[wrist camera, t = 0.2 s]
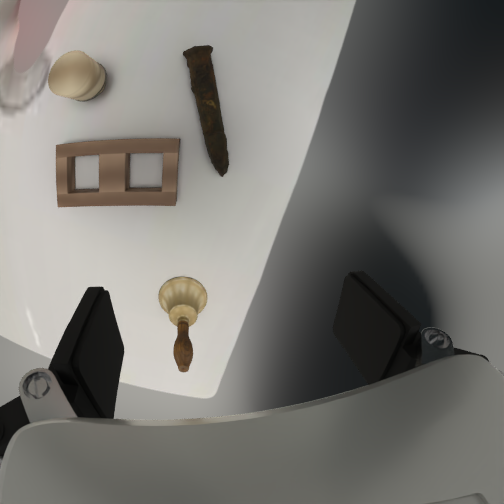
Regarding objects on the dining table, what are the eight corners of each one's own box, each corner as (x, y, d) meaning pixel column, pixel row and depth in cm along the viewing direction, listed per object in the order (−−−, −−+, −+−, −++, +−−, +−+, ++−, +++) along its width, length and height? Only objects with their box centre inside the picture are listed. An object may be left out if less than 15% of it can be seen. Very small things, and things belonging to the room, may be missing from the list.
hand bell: (210, 314, 47) (221, 383, 33) (164, 319, 45) (160, 390, 31) (203, 273, 43) (212, 339, 29) (154, 279, 42) (142, 347, 28)
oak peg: (81, 70, 26) (52, 55, 17) (116, 65, 27) (94, 46, 18) (76, 106, 28) (44, 99, 19) (111, 102, 30) (86, 92, 21)
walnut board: (64, 143, 30) (56, 144, 27) (180, 138, 34) (179, 138, 32) (65, 202, 34) (57, 207, 31) (176, 200, 38) (175, 205, 35)
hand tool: (183, 55, 29) (182, 45, 25) (211, 50, 30) (213, 40, 26) (201, 178, 38) (202, 183, 33) (229, 172, 38) (233, 177, 34)
